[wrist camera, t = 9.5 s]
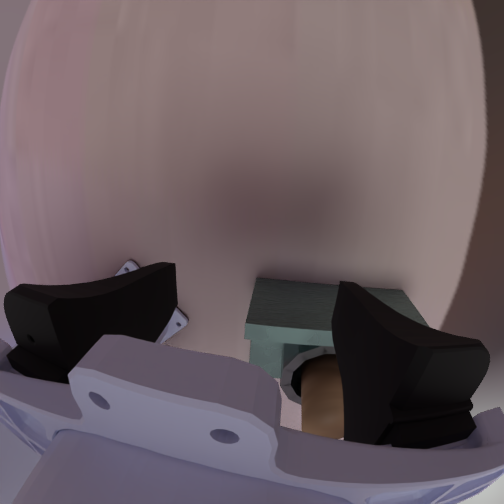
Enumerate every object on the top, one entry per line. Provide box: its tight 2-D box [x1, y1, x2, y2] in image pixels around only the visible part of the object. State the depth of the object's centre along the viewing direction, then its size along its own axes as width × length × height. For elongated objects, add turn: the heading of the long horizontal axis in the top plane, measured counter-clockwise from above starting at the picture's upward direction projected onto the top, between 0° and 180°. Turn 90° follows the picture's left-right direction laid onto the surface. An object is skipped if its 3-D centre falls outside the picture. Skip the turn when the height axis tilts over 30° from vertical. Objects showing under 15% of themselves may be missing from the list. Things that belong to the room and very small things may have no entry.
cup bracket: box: [244, 278, 429, 405], centre depth 21 cm, size 10×13×7 cm
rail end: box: [301, 354, 344, 439], centre depth 19 cm, size 4×4×8 cm
